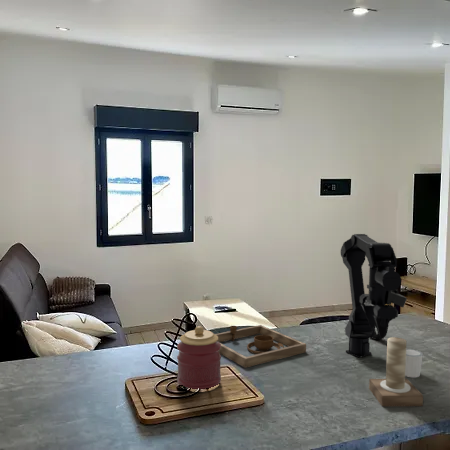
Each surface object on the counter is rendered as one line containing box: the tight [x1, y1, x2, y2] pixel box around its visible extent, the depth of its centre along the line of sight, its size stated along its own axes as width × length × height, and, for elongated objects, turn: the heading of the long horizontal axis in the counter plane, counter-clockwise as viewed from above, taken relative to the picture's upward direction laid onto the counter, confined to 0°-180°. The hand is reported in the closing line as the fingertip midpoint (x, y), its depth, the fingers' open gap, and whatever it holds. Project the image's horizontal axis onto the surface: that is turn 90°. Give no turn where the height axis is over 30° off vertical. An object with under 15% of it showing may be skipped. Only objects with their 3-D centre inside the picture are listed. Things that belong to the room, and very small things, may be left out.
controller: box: [372, 322, 390, 341], centre depth 185 cm, size 4×12×10 cm, turn 25°
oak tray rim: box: [214, 324, 307, 369], centre depth 173 cm, size 26×26×3 cm
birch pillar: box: [385, 336, 407, 389], centre depth 134 cm, size 5×5×13 cm
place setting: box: [229, 325, 285, 355], centre depth 176 cm, size 18×20×6 cm
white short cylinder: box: [405, 348, 424, 378], centre depth 151 cm, size 7×7×7 cm
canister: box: [176, 325, 222, 389], centre depth 142 cm, size 13×13×18 cm
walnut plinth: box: [368, 378, 424, 407], centre depth 135 cm, size 11×11×3 cm
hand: (376, 331), depth 151 cm, fingers open, 9 cm apart
